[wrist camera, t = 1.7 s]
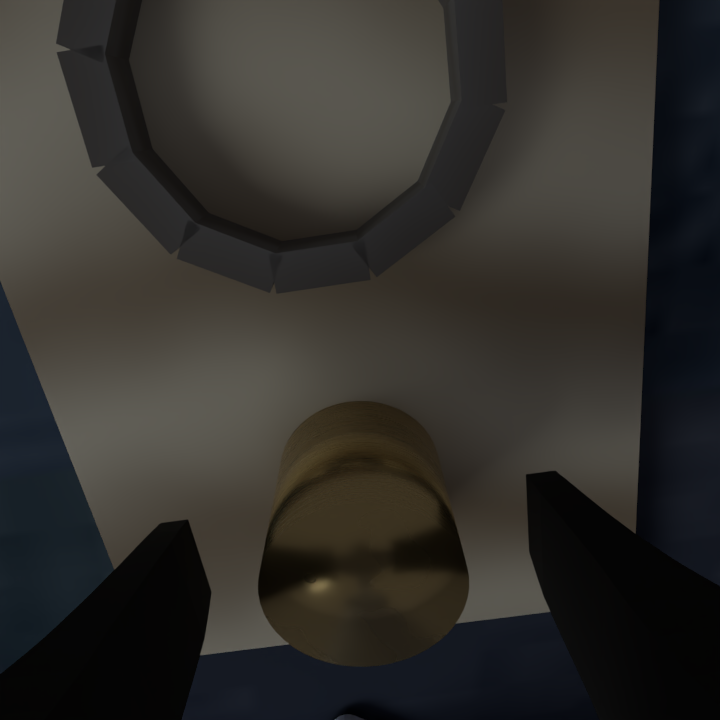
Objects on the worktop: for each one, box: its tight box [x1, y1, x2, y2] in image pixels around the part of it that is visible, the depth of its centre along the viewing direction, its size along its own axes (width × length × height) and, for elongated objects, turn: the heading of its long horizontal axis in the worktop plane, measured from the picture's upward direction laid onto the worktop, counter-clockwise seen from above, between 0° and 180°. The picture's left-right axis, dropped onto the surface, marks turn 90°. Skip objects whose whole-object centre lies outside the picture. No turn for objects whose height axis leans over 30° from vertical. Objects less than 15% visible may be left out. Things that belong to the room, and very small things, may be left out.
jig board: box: [0, 0, 659, 655], centre depth 13 cm, size 20×14×2 cm
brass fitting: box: [258, 401, 469, 667], centre depth 13 cm, size 4×4×4 cm
